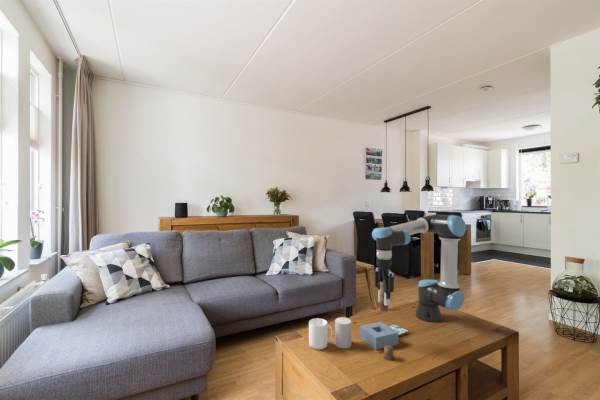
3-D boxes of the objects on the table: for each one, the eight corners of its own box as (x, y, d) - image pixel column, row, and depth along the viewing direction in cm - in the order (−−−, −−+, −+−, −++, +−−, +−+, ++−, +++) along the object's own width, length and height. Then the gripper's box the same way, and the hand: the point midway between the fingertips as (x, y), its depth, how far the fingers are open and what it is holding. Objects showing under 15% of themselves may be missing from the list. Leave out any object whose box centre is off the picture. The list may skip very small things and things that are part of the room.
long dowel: (384, 307, 149) (384, 280, 149) (389, 310, 146) (389, 282, 146) (378, 308, 148) (378, 281, 148) (383, 311, 144) (383, 283, 144)
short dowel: (389, 354, 136) (389, 344, 136) (395, 359, 132) (395, 348, 132) (382, 356, 134) (382, 346, 134) (388, 361, 131) (388, 350, 131)
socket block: (380, 332, 159) (380, 321, 159) (398, 344, 146) (398, 332, 146) (359, 337, 153) (359, 325, 153) (376, 349, 140) (376, 337, 140)
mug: (305, 342, 147) (305, 320, 147) (326, 338, 152) (326, 316, 152) (313, 351, 139) (313, 327, 138) (335, 347, 143) (335, 323, 143)
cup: (341, 338, 152) (341, 316, 151) (354, 344, 146) (354, 320, 146) (331, 344, 146) (331, 320, 146) (344, 350, 140) (344, 325, 140)
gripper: (367, 255, 153) (367, 299, 153) (389, 262, 137) (389, 310, 137) (378, 254, 156) (378, 297, 156) (401, 260, 140) (401, 308, 141)
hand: (383, 303), depth 147 cm, fingers closed on long dowel, 4 cm apart
